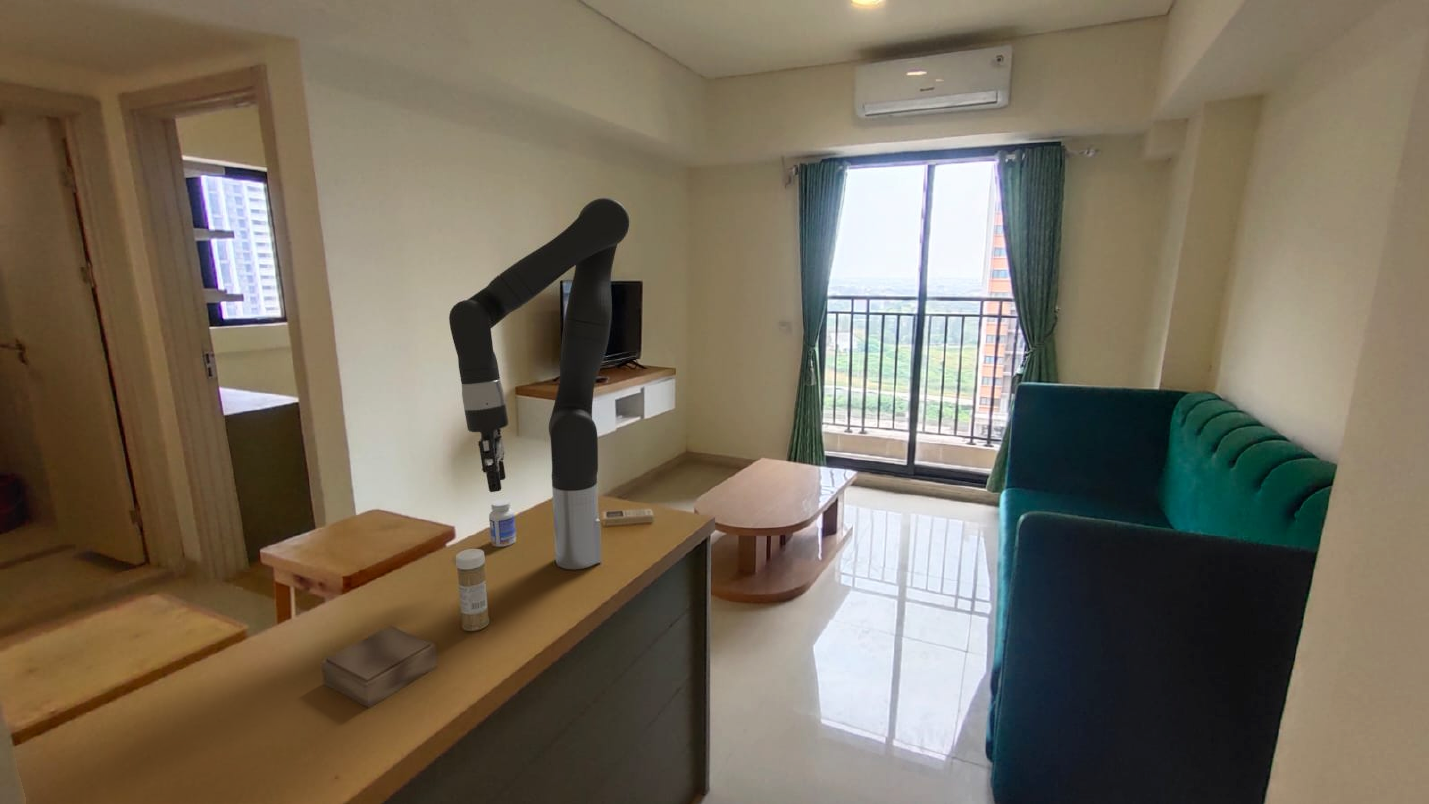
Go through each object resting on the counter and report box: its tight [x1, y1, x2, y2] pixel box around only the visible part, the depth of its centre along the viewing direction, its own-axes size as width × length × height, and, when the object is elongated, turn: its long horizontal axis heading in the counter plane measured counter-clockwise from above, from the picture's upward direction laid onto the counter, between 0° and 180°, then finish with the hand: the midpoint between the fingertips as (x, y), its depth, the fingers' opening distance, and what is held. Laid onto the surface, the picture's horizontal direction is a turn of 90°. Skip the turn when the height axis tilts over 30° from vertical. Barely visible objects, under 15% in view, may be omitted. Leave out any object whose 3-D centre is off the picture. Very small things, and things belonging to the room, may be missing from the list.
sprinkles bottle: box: [455, 548, 490, 632], centre depth 105 cm, size 5×5×13 cm
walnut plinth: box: [320, 625, 438, 709], centre depth 93 cm, size 11×11×4 cm
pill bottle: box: [488, 499, 517, 548], centre depth 140 cm, size 5×5×10 cm
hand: (498, 485), depth 121 cm, fingers open, 8 cm apart
